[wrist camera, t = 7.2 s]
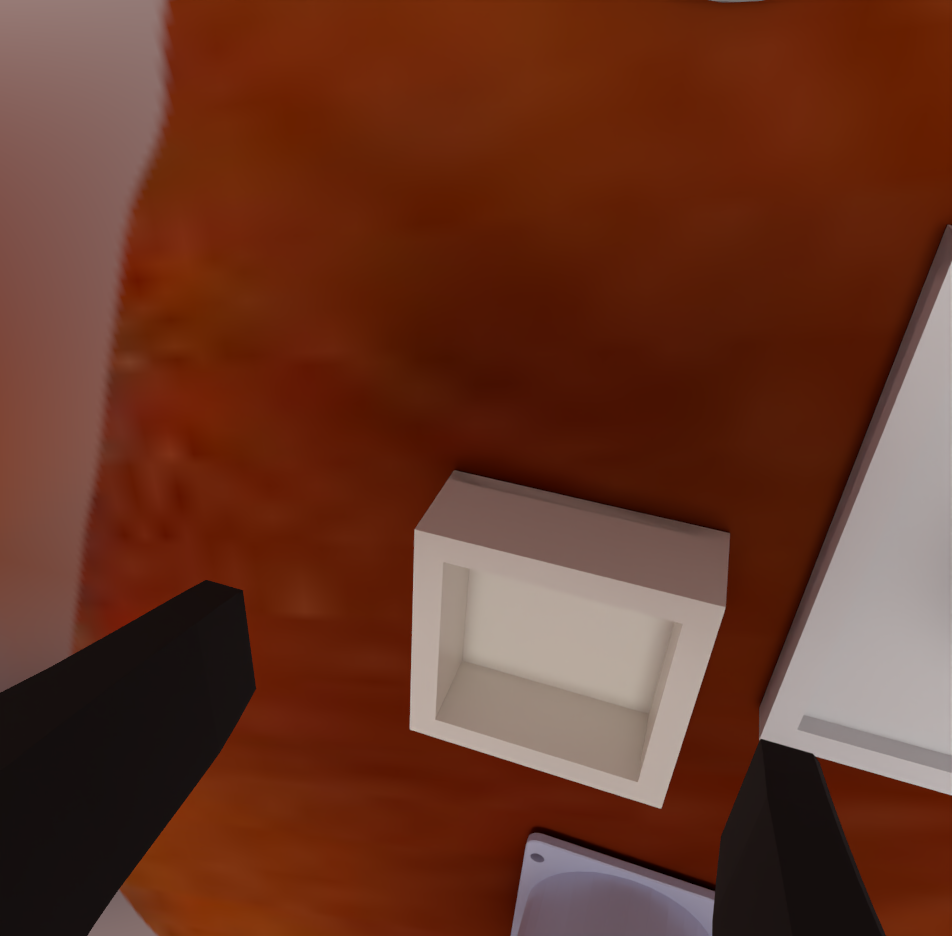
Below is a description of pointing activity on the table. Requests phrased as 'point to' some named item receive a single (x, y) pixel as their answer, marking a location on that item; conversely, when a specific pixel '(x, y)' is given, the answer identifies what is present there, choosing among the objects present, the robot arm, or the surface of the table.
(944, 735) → the tray
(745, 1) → the ceramic mug
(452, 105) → the table surface
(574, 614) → the square socket block
